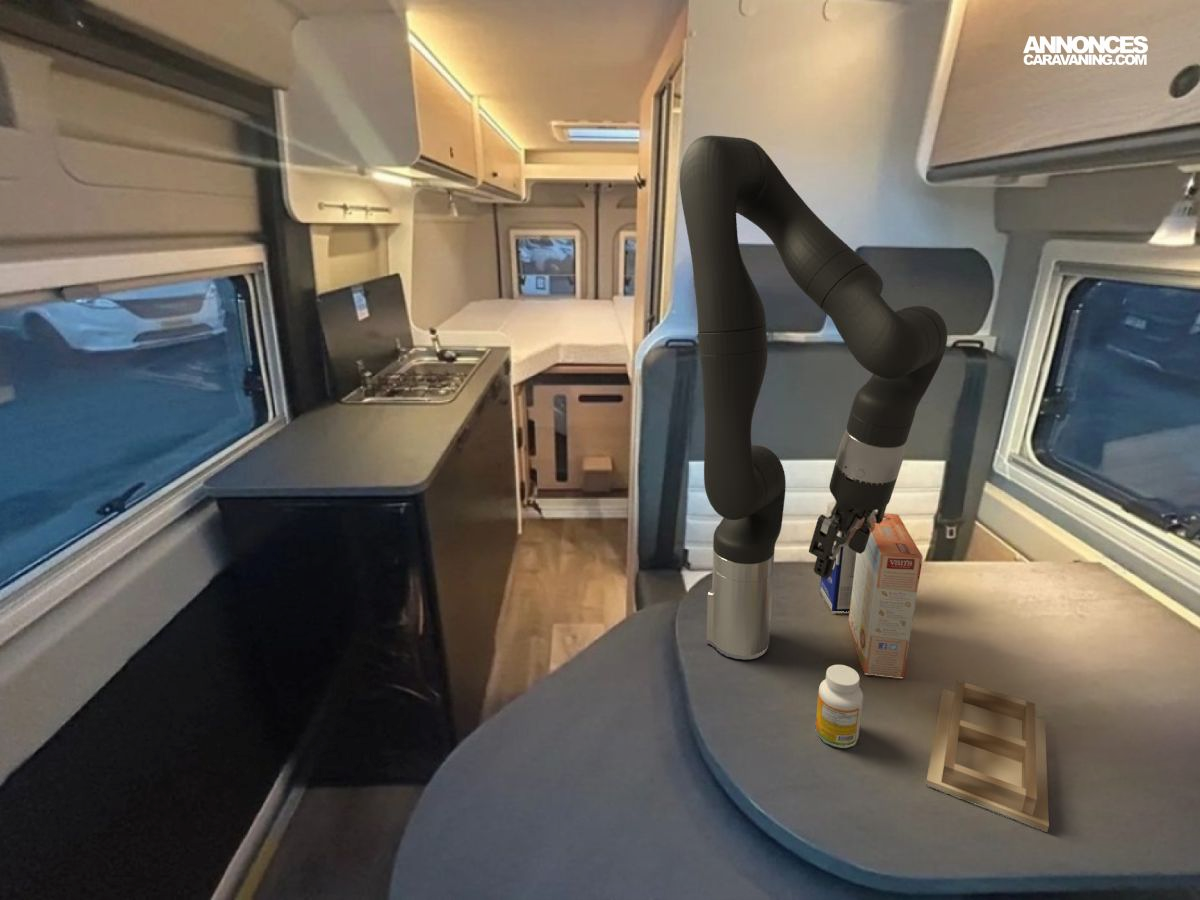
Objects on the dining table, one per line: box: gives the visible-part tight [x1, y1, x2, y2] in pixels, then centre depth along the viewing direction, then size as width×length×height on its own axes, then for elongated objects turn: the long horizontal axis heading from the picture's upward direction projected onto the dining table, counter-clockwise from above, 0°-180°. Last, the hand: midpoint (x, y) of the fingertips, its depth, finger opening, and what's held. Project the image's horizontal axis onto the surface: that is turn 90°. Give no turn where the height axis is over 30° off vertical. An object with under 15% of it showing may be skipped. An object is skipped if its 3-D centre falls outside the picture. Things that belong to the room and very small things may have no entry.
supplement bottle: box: [815, 664, 864, 746], centre depth 81 cm, size 5×5×10 cm
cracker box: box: [847, 512, 924, 678], centre depth 95 cm, size 14×6×21 cm, turn 168°
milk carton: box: [819, 500, 878, 612], centre depth 107 cm, size 7×7×20 cm
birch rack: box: [925, 680, 1050, 833], centre depth 78 cm, size 12×18×4 cm, turn 147°
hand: (839, 562), depth 87 cm, fingers open, 8 cm apart
